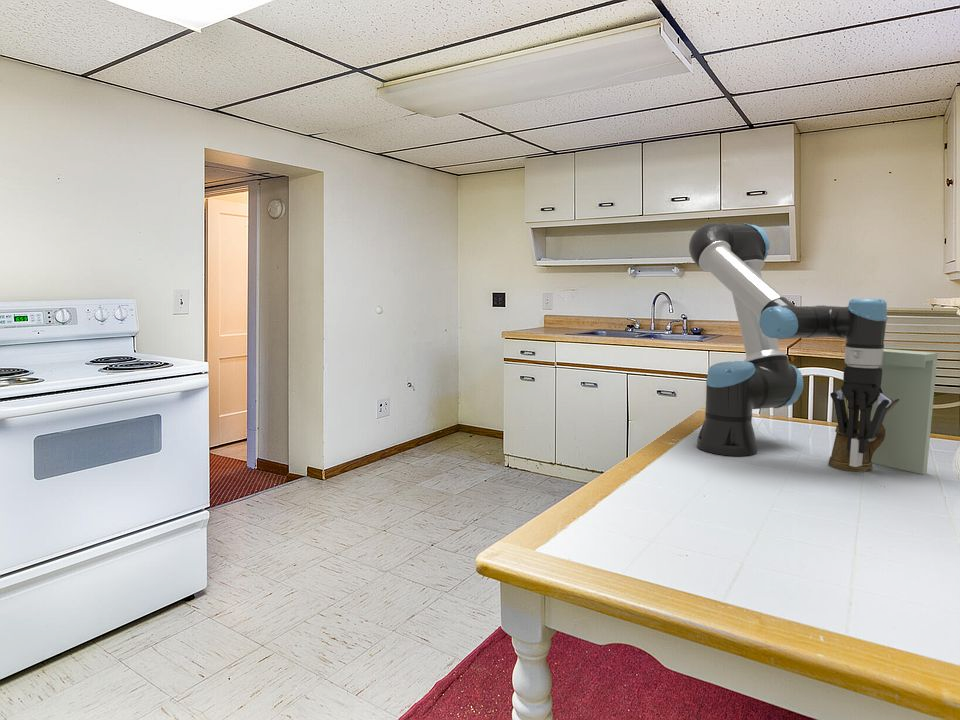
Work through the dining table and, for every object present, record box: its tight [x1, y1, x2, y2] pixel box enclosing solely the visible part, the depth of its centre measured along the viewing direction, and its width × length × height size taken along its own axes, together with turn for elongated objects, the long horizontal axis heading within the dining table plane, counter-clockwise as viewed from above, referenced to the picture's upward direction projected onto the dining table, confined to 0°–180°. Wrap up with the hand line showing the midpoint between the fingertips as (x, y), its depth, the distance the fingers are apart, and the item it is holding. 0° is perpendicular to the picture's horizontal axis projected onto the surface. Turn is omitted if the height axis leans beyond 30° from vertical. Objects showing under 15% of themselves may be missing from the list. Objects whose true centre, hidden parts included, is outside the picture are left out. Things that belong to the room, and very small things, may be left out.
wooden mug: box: [827, 399, 900, 473], centre depth 148 cm, size 9×14×18 cm, turn 50°
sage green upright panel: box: [868, 348, 939, 475], centre depth 147 cm, size 12×6×28 cm, turn 33°
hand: (855, 465), depth 144 cm, fingers closed
